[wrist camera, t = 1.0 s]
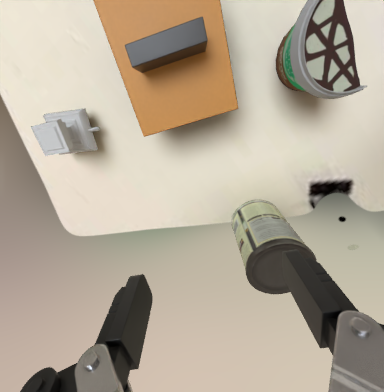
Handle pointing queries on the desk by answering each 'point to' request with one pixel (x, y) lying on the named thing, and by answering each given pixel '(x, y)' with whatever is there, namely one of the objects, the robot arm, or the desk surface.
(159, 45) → the lid
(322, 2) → the food container
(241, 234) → the coffee can
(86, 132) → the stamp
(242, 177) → the desk surface
